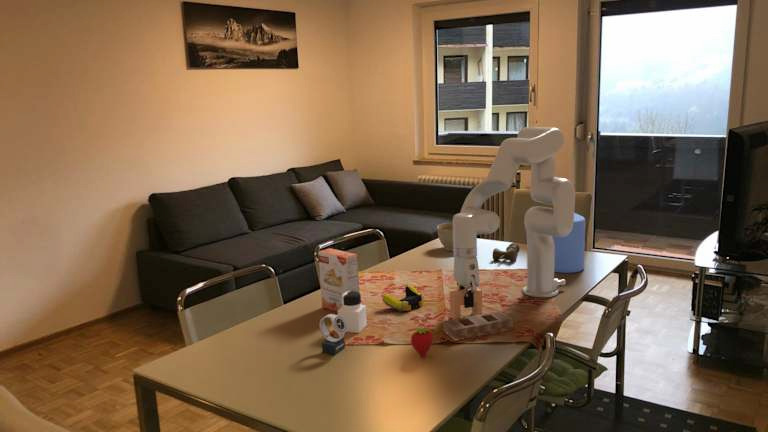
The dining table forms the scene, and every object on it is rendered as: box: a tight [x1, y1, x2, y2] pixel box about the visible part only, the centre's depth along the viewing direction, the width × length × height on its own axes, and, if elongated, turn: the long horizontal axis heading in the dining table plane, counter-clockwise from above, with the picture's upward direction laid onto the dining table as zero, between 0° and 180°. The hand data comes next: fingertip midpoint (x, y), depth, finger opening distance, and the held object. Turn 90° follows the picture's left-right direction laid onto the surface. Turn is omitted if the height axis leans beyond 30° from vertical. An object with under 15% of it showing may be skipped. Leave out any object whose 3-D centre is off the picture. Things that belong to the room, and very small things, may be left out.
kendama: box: [492, 242, 520, 264], centre depth 268 cm, size 6×10×20 cm
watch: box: [319, 313, 347, 356], centre depth 182 cm, size 6×8×11 cm
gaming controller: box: [382, 284, 425, 312], centre depth 217 cm, size 15×6×10 cm
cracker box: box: [317, 247, 360, 313], centre depth 214 cm, size 14×6×21 cm, turn 47°
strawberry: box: [410, 322, 433, 358], centre depth 175 cm, size 6×8×10 cm
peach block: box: [449, 286, 483, 320], centre depth 204 cm, size 10×4×9 cm, turn 109°
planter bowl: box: [436, 222, 453, 252], centre depth 287 cm, size 16×16×11 cm
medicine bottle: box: [337, 291, 368, 334], centre depth 198 cm, size 7×7×12 cm
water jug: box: [552, 212, 586, 274], centre depth 249 cm, size 16×16×28 cm
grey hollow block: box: [442, 310, 514, 339], centre depth 192 cm, size 20×8×4 cm, turn 109°
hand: (466, 304), depth 204 cm, fingers closed on peach block, 3 cm apart
